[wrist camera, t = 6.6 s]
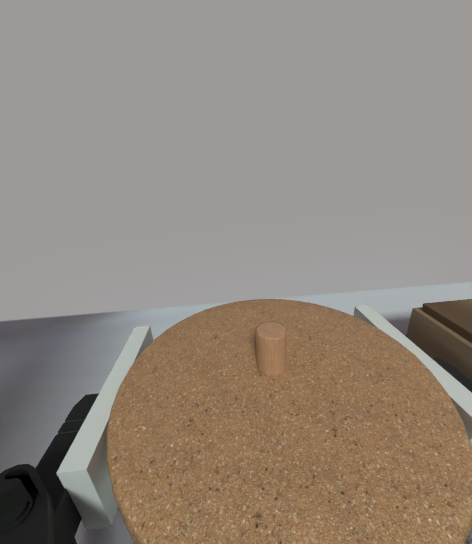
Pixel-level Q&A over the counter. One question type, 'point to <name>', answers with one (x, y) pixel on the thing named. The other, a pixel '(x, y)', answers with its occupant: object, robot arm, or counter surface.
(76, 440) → the robot arm
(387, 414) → the lidded jar
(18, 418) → the counter surface
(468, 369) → the walnut stand
